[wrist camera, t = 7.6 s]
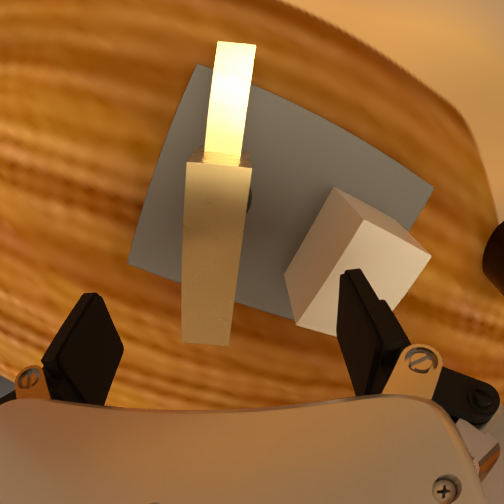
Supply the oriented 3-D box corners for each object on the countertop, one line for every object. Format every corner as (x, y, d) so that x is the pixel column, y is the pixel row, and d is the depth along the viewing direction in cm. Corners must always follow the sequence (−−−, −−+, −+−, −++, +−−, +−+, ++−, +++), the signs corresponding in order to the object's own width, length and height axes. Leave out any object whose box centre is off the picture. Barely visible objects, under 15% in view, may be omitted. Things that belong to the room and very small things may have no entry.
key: (256, 62, 17) (271, 36, 9) (230, 256, 23) (228, 346, 15) (218, 58, 16) (202, 29, 8) (198, 253, 23) (181, 341, 15)
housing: (332, 319, 30) (337, 333, 28) (134, 251, 25) (126, 264, 24) (422, 180, 23) (435, 188, 21) (200, 66, 19) (197, 63, 17)
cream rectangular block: (343, 296, 26) (365, 344, 21) (283, 274, 25) (295, 325, 19) (394, 218, 23) (432, 256, 17) (333, 186, 21) (363, 219, 16)
